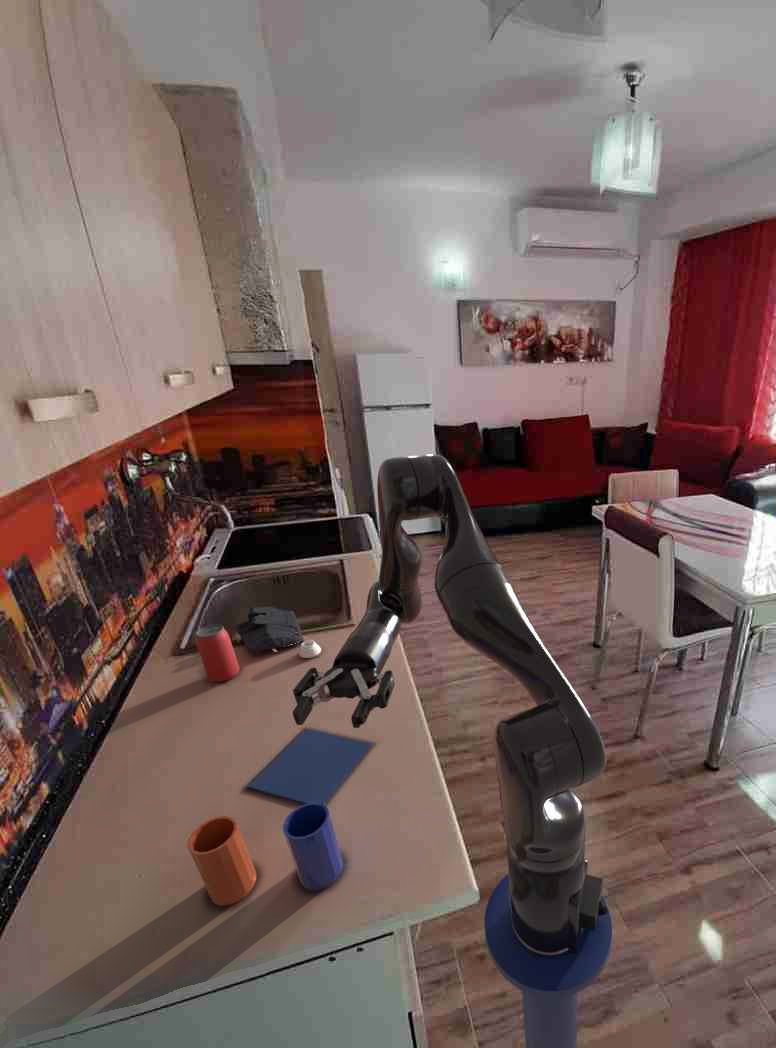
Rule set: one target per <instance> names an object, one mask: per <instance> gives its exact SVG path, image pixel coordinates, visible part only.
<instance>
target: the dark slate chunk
mask: <svg viewBox="0 0 776 1048" xmlns="http://www.w3.org/2000/svg"><path fill="white" fill-rule="evenodd" d="M248 611H249V612H248V613H247V618H248V620H246V621H243V622H241V623H238V624H235V629H236V632H237V633H238V635H239V637H240V639H241V641H242V642H243V644H244V645H245V647H246V650H248V652H250V653H251V654H258V653H262V652H267V651H271V650H270V649H272V650H275V649H277V650H278V649H281V648H280V647H283V648H285V647H284V646H287V647H286V648H288V647H294V646H296V645H300V644H302V643H303V642H304V637H303V632H302V629H301V626H300V624H299V619H298V618H297V615H296V613H295V612H294V611H293V610H287V609H286V610H282V609H278V608H277V607H272V606H260V607H257V606H253V607H250V608H249V610H248ZM295 630H298V634H299V636H300V639H299V637H298V636H297V635H294V634H293V633H294V632H295ZM301 639H302V640H301ZM300 640H301V641H300ZM298 641H300V642H298ZM297 642H298V643H297ZM295 643H296V644H295ZM290 644H293V645H290ZM288 645H289V646H288ZM283 648H282V649H283ZM266 650H267V651H266ZM261 651H262V652H261ZM256 652H258V653H256Z"/></svg>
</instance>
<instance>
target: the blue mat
mask: <svg viewBox="0 0 776 1048" xmlns="http://www.w3.org/2000/svg"><path fill="white" fill-rule="evenodd" d="M372 746H373V743H371V742H367V741H362V740H358V739H353V738H348V737H344V736H340V735H336V734H331V733H326V732H321V731H318V730H313V729H308V728H305V729H304V730H303V731H302V732H301V733H300V734H299V735H297V737H296V738H295V739H294V740H293V741H292V742H291V743H290V744H289V745H288V746H287V747H286V748H285V749H284V750H283V751H282V752H281V753H279V755H278V756H277V757H275V759H274V760H273V761H272V762H270V763H269V765H268V766H267V767H266V768H265V769H264V770H262V771H261V773H260V774H258V775H257V776H256V777H255V779H254V780H253V781H251V783H249V784H248V786H247V788H248V789H252V790H255V791H258V792H262V793H266V794H268V795H272V796H276V797H279V798H283V799H287V800H290V801H293V802H297V803H301V804H303V805H304V804H307V803H315V802H317V803H321V804H324V805H325V804H326V803H327V802H328V801H329V800H330V798H331V797H332V795H334V793H335V792H336V791H337V789H338V788H339V787H340V786H341V784H343V782H344V780H345V779H347V777H348V776H349V774H350V773H351V772H352V771H353V770H354V768H355V767H356V766H357V764H358V763H359V762H360V761H361V760H362V758H363V757H364V756H365V755H366V753H368V751H369V749H370V748H371V747H372Z"/></svg>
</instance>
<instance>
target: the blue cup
mask: <svg viewBox="0 0 776 1048" xmlns="http://www.w3.org/2000/svg"><path fill="white" fill-rule="evenodd" d="M333 824H334V823H333V821H332V817H331V814H330V810H329V808H328V807H327V806H326V805H325V804H321V803H317V802H315V803H307V804H304V803H303V804H302V805H300V806H298V807H296V808H295V809H294V810H292V811H291V812H290V813H289V814H288V815H287V816H286V817H285V819H284V822H283V824H282V830H283V834H284V838H285V840H286V844H287V847H288V850H289V853H290V856H291V858H292V861H293V865H294V867H295V870H296V873H297V877H298V879H299V881H300V883H301V885H302V886H303V888H305V889H307V890H309V891H320V890H323V889H325V888H327V887H329V886H331V885H332V884H333V883H335V882H336V881H337V879H338V878H339V877H340V875H341V874H342V871H343V867H344V861H343V857H342V854H341V850H340V847H339V842H338V839H337V835H336V832H335V827H334V825H333Z"/></svg>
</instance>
